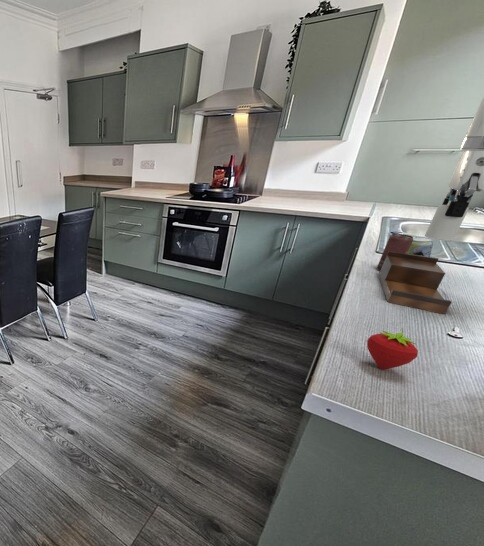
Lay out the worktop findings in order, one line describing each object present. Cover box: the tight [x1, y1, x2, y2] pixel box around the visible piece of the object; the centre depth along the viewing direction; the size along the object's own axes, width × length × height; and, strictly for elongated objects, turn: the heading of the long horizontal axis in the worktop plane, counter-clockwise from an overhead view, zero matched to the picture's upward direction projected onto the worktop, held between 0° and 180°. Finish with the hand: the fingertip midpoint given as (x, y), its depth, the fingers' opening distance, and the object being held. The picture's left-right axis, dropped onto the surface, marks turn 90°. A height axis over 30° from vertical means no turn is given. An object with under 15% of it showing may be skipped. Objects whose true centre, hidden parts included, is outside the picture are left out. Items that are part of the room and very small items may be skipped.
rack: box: [378, 251, 453, 315], centre depth 98 cm, size 12×26×10 cm, turn 142°
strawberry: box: [366, 327, 419, 371], centre depth 64 cm, size 6×8×10 cm
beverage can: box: [407, 237, 434, 257], centre depth 117 cm, size 6×7×12 cm
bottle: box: [424, 195, 470, 242], centre depth 87 cm, size 6×6×12 cm
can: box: [376, 232, 414, 272], centre depth 115 cm, size 6×6×14 cm
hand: (450, 214), depth 87 cm, fingers closed on bottle, 5 cm apart
